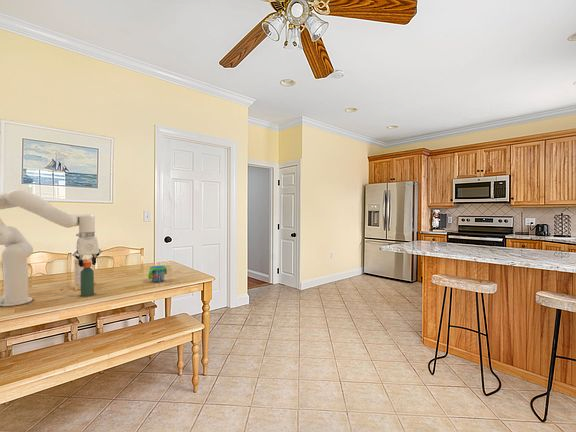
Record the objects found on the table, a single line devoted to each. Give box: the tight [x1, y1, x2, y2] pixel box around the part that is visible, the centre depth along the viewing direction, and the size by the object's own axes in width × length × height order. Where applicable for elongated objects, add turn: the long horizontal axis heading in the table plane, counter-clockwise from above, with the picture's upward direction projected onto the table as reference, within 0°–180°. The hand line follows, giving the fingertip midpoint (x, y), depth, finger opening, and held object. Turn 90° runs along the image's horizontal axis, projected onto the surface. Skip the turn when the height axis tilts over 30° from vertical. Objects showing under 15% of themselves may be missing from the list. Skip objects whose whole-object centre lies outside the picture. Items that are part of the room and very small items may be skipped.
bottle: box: [80, 267, 95, 297], centre depth 165 cm, size 6×6×19 cm
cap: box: [83, 262, 91, 268], centre depth 165 cm, size 4×4×3 cm
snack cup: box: [147, 265, 168, 283], centre depth 198 cm, size 16×10×10 cm
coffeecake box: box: [74, 254, 95, 291], centre depth 182 cm, size 15×7×20 cm, turn 21°
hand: (87, 265), depth 165 cm, fingers open, 5 cm apart
